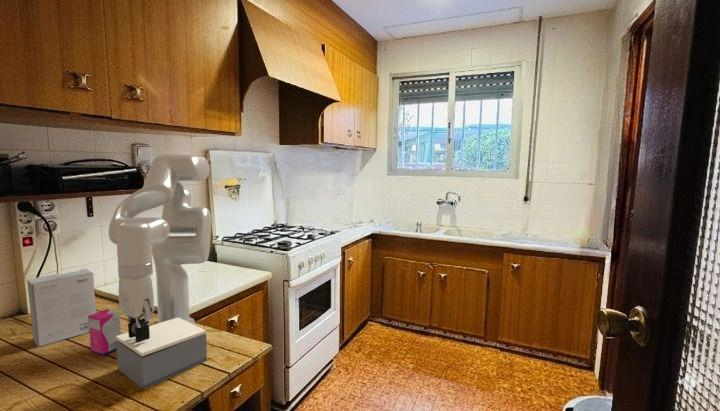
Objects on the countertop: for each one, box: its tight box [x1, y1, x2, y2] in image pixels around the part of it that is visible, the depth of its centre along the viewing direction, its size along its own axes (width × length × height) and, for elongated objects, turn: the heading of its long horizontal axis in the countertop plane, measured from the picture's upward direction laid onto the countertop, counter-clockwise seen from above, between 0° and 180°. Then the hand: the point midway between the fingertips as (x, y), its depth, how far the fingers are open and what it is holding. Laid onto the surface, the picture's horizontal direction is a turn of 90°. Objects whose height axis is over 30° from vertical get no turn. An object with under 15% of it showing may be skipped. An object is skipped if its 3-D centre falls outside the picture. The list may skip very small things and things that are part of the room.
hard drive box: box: [26, 268, 97, 348], centre depth 117 cm, size 16×8×20 cm, turn 141°
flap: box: [116, 317, 207, 356], centre depth 100 cm, size 15×17×6 cm
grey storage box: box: [116, 333, 208, 390], centre depth 100 cm, size 15×17×8 cm
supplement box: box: [88, 308, 122, 357], centre depth 108 cm, size 6×6×12 cm
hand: (139, 337), depth 95 cm, fingers closed on flap, 3 cm apart
